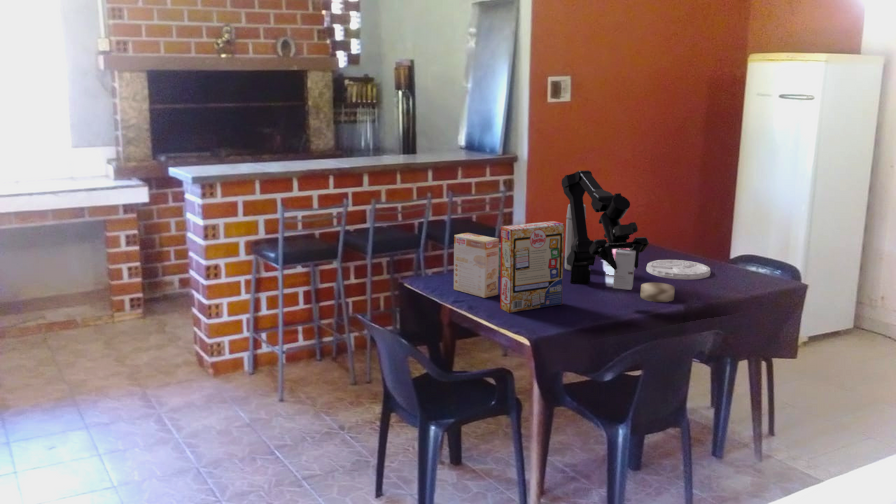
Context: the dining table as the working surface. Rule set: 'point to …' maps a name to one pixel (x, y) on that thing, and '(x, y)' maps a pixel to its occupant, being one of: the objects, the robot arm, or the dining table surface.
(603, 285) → the dining table surface
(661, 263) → the medallion
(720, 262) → the dining table surface
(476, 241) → the coffeecake box
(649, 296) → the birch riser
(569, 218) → the water bottle
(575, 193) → the robot arm
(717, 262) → the dining table surface
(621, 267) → the skincare box
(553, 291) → the board game box
